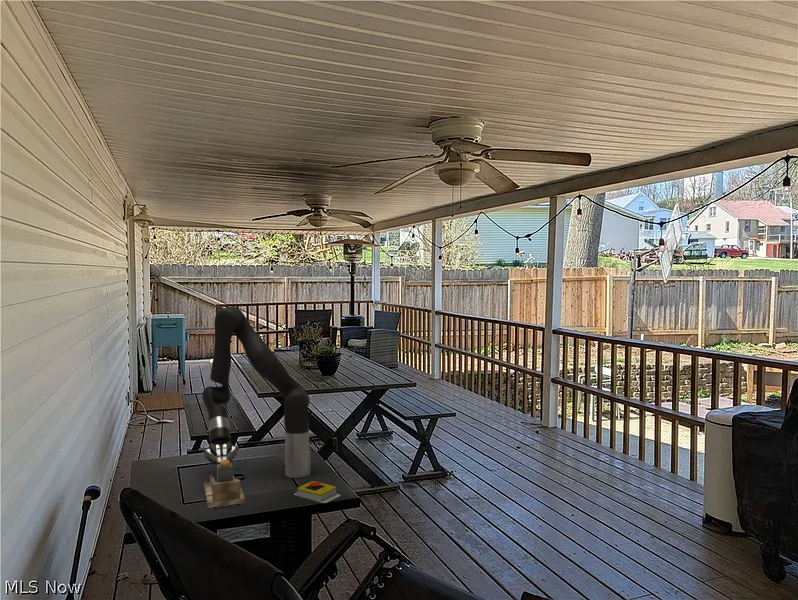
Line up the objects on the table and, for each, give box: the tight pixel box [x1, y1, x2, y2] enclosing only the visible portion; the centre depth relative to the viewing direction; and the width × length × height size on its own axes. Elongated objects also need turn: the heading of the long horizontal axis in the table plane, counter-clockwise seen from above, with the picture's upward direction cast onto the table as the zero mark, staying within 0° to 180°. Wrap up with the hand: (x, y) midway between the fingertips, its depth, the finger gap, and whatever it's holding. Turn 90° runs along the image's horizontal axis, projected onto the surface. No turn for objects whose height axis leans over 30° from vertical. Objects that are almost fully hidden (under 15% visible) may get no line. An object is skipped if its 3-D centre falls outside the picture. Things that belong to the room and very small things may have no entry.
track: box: [203, 473, 246, 509], centre depth 202 cm, size 12×21×8 cm, turn 22°
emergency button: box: [293, 480, 341, 504], centre depth 203 cm, size 9×4×15 cm
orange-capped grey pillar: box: [216, 459, 234, 483], centre depth 198 cm, size 5×4×12 cm
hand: (222, 473), depth 205 cm, fingers closed
